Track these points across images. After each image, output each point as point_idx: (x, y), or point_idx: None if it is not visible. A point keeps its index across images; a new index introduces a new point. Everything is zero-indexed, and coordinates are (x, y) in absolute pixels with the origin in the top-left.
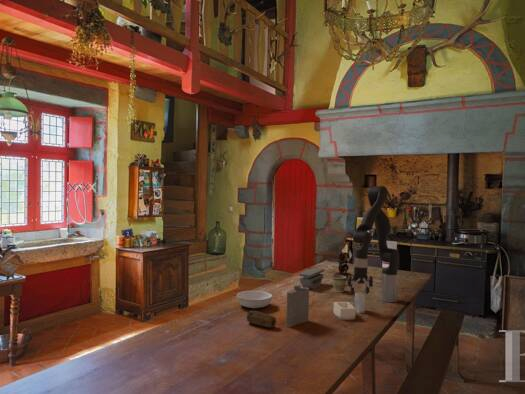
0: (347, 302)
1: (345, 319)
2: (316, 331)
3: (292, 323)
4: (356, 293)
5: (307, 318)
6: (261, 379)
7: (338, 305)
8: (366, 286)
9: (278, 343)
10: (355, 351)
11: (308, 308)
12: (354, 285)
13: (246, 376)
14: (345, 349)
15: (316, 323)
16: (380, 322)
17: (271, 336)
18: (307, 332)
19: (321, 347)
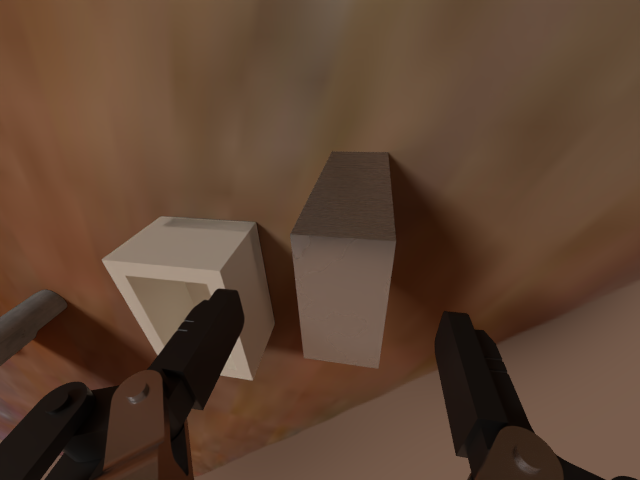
0: (213, 282)
1: None
2: (123, 374)
3: (24, 344)
4: (296, 287)
5: (52, 318)
6: None
7: (146, 325)
8: (482, 449)
9: None
10: (226, 455)
11: (4, 356)
12: (183, 463)
13: None
14: (205, 446)
15: (106, 328)
16: (390, 370)
17: (20, 371)
18: (99, 374)
19: None
